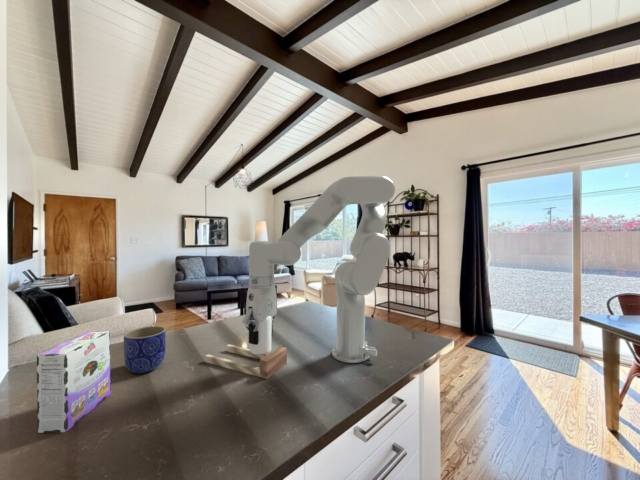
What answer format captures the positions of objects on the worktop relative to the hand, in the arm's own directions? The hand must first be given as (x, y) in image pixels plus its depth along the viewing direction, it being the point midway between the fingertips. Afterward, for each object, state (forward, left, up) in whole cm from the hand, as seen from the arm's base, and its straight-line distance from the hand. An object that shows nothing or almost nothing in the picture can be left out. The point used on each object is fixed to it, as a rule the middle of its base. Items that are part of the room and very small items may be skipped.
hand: (260, 339), depth 86 cm
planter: (+31, +16, -9) cm, 36 cm away
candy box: (+24, +36, -9) cm, 44 cm away
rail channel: (+6, 0, -9) cm, 11 cm away
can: (0, 0, -4) cm, 4 cm away
